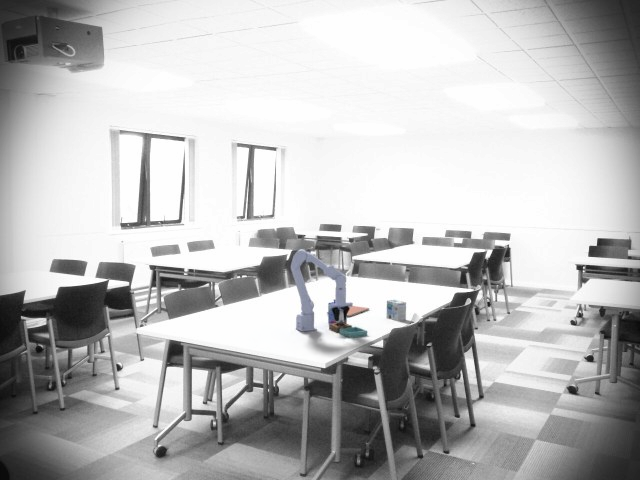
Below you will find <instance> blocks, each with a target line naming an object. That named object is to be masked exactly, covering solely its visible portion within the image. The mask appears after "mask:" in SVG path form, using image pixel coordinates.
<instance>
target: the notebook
mask: <svg viewBox="0 0 640 480" xmlns="http://www.w3.org/2000/svg"><path fill="white" fill-rule="evenodd" d="M349 308H350V310H349V311H348V313H347V318H350V317H353V316H356V315H359V314H361V312H362V313H364V312H367V311H369V310H370V307H364V306H356V305H353V306H352V307H351V306H349ZM326 313H327V315H328V311H327V312H326Z"/></svg>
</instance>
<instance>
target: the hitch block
mask: <svg viewBox="0 0 640 480" xmlns="http://www.w3.org/2000/svg"><path fill="white" fill-rule="evenodd" d="M350 327H353V326H352V325H351V324H349V323H347V324H346V323H344V326H337V323H333V324H328V329H329V330H330V331H333V332H335V333H336V334H340V329H342V328H350Z"/></svg>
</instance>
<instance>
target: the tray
mask: <svg viewBox="0 0 640 480" xmlns="http://www.w3.org/2000/svg"><path fill="white" fill-rule="evenodd" d="M339 335H342V336H344V335H345V337H348V338H350V339H353V338H360V337H365V336H368V330H366V329H365V328H364V329H363V328H361V327H358V326H352V327H350V328H342V329H340V333H339ZM352 337H353V338H352Z"/></svg>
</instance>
